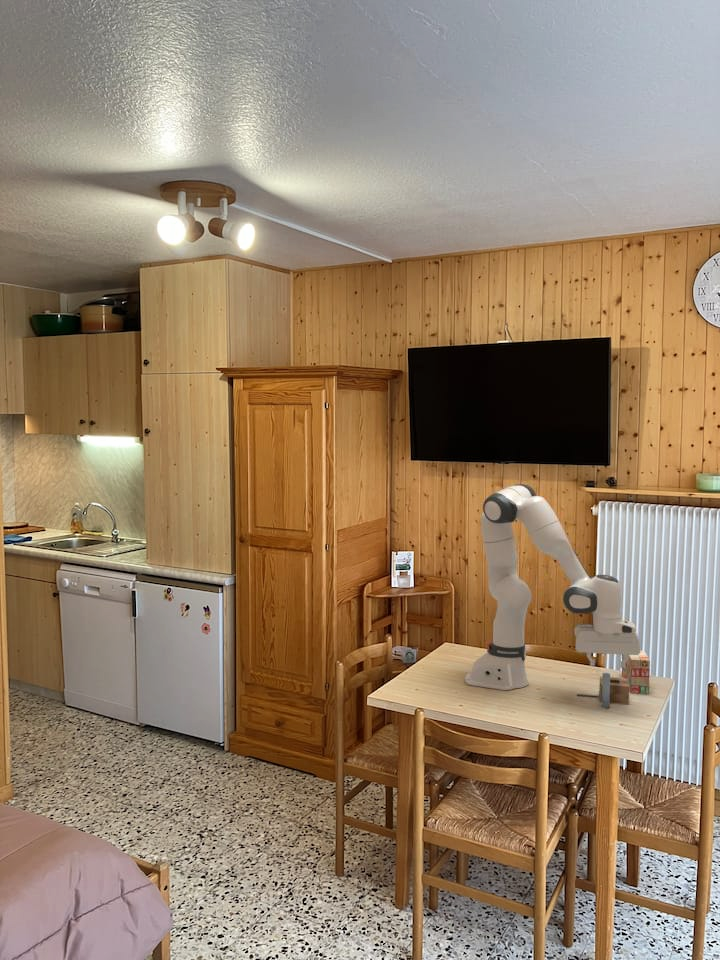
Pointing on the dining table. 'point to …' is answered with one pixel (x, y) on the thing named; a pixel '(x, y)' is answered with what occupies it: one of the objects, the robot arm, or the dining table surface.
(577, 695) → the lace
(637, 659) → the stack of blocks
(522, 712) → the dining table surface
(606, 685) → the blue-grey upright bar
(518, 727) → the dining table surface
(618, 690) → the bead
